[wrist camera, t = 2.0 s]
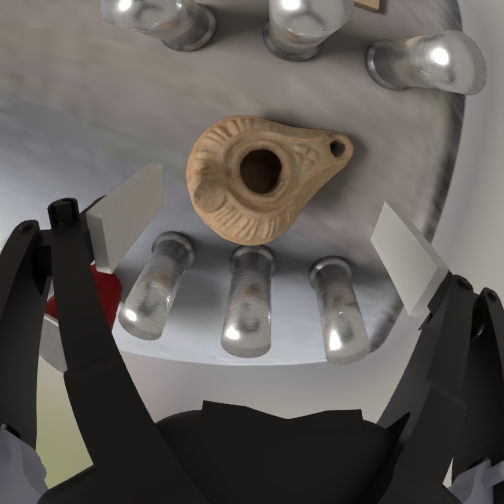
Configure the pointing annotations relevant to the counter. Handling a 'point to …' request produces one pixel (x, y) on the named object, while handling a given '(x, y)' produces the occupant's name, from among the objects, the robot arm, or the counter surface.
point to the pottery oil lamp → (260, 175)
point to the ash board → (367, 4)
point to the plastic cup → (50, 333)
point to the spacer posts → (258, 256)
